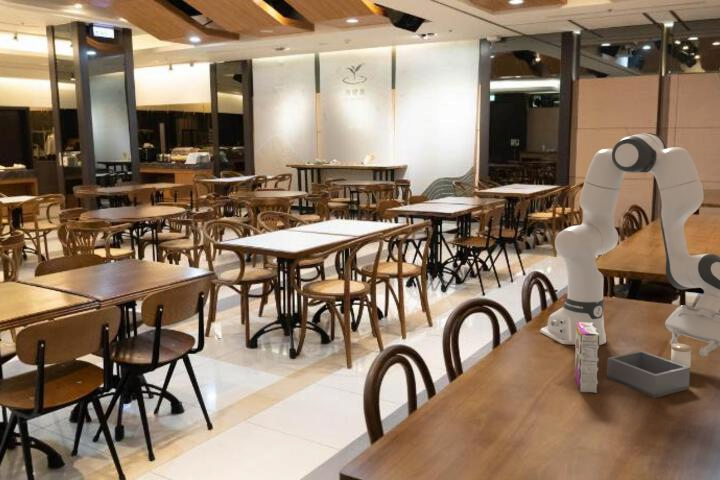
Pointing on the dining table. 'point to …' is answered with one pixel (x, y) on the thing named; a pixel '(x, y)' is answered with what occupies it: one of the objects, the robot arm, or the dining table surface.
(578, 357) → the candy bar box
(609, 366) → the tote
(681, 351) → the jar
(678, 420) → the dining table surface
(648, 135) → the robot arm
